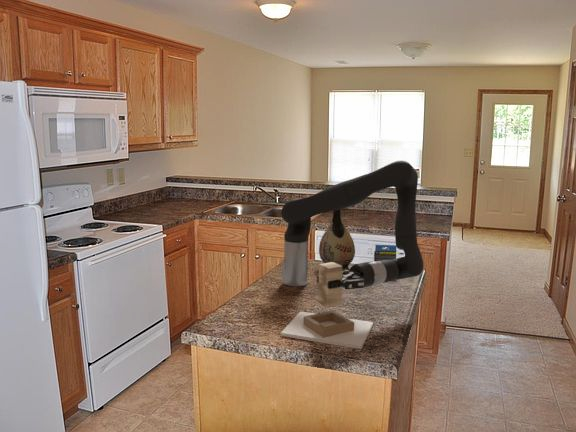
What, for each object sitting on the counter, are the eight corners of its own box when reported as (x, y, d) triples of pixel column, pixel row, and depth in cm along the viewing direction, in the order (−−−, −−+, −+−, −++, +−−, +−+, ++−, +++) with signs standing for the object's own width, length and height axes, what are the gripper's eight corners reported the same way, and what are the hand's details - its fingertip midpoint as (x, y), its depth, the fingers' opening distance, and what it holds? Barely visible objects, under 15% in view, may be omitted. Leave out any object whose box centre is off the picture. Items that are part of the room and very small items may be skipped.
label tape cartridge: (394, 271, 215) (395, 243, 212) (395, 274, 211) (397, 245, 208) (373, 270, 215) (374, 242, 213) (373, 273, 212) (375, 244, 209)
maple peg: (318, 302, 152) (318, 264, 150) (331, 299, 155) (332, 261, 153) (327, 307, 148) (328, 268, 146) (341, 304, 151) (342, 265, 148)
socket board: (280, 335, 149) (281, 324, 148) (300, 314, 165) (300, 304, 165) (361, 349, 141) (361, 337, 140) (373, 325, 157) (373, 314, 157)
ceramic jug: (317, 263, 225) (319, 196, 220) (352, 263, 225) (355, 197, 219) (319, 274, 209) (321, 202, 203) (356, 275, 208) (359, 203, 203)
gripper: (354, 257, 163) (309, 264, 154) (383, 268, 150) (337, 276, 142) (353, 279, 164) (309, 287, 156) (382, 292, 152) (336, 302, 143)
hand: (323, 282), depth 149 cm, fingers closed on maple peg, 5 cm apart
